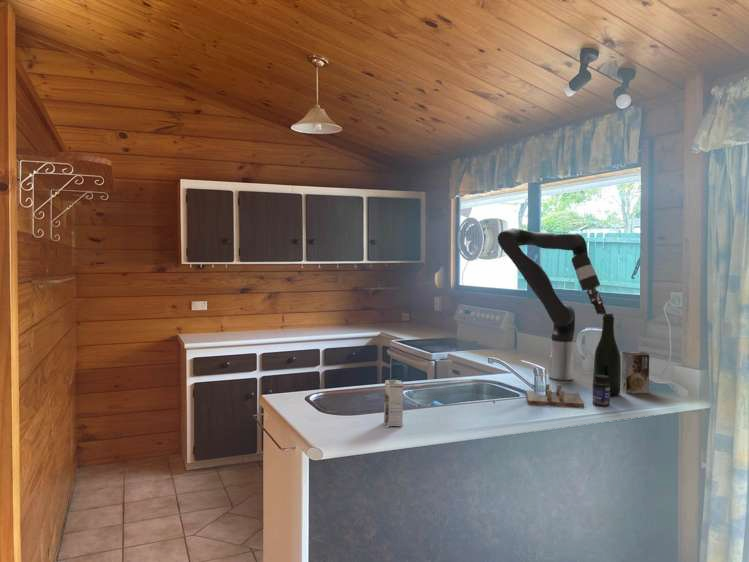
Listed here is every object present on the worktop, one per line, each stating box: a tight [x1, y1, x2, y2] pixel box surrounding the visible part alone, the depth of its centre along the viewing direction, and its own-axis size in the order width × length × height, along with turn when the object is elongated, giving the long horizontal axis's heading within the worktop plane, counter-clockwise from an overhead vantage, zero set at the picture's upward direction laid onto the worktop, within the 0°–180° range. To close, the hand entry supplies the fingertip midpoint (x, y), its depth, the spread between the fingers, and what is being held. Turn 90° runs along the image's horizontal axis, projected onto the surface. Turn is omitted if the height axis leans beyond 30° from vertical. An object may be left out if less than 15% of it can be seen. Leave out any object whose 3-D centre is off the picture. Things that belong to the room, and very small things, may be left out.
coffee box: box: [620, 351, 650, 394], centre depth 243 cm, size 9×6×16 cm
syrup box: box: [383, 379, 404, 427], centre depth 196 cm, size 6×6×14 cm
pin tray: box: [525, 383, 585, 409], centre depth 228 cm, size 20×16×5 cm
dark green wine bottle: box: [592, 312, 622, 398], centre depth 238 cm, size 10×10×33 cm
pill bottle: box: [592, 375, 611, 408], centre depth 223 cm, size 6×6×11 cm
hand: (602, 313), depth 245 cm, fingers open, 8 cm apart
